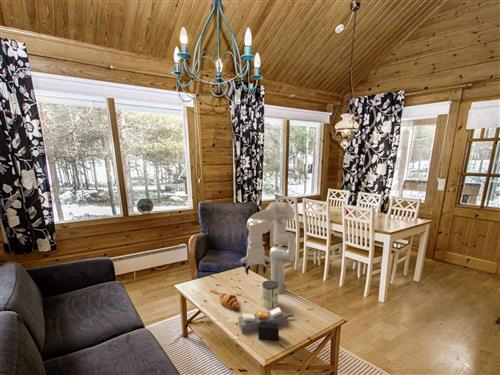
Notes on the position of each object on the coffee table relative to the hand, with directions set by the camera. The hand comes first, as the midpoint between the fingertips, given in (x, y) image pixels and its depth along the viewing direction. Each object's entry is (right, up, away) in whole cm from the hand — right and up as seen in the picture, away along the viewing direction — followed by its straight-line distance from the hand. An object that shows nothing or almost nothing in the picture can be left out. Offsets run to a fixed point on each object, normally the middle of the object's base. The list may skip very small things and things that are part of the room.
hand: (255, 273), depth 140 cm
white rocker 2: (+11, -23, +1) cm, 26 cm away
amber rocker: (+4, -23, -1) cm, 24 cm away
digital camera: (+7, -30, -10) cm, 33 cm away
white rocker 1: (-4, -24, -3) cm, 24 cm away
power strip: (+7, -29, +1) cm, 30 cm away
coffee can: (+10, -27, +19) cm, 35 cm away
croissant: (-17, -28, +21) cm, 38 cm away
